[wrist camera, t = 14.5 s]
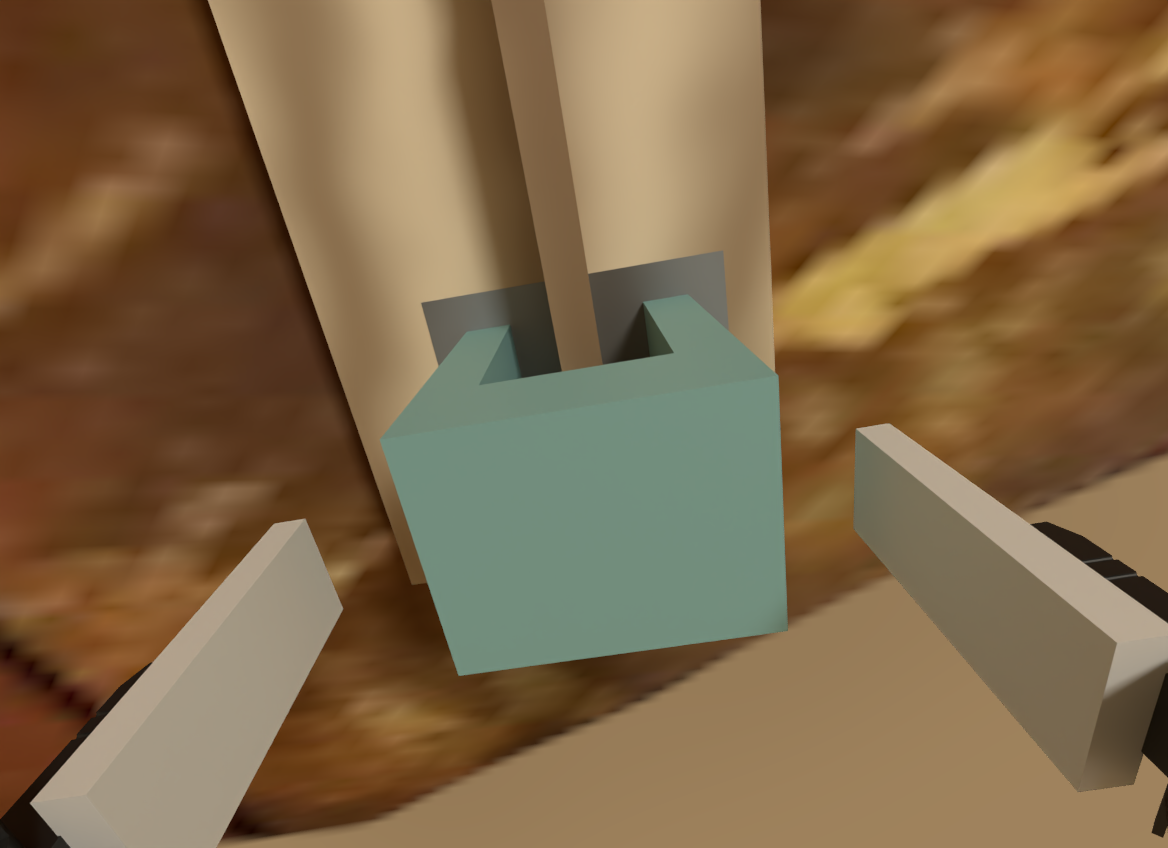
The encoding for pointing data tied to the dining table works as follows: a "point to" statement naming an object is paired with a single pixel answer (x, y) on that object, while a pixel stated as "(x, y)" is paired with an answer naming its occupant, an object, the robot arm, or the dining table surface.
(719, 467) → the bracket
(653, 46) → the board
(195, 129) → the dining table surface
